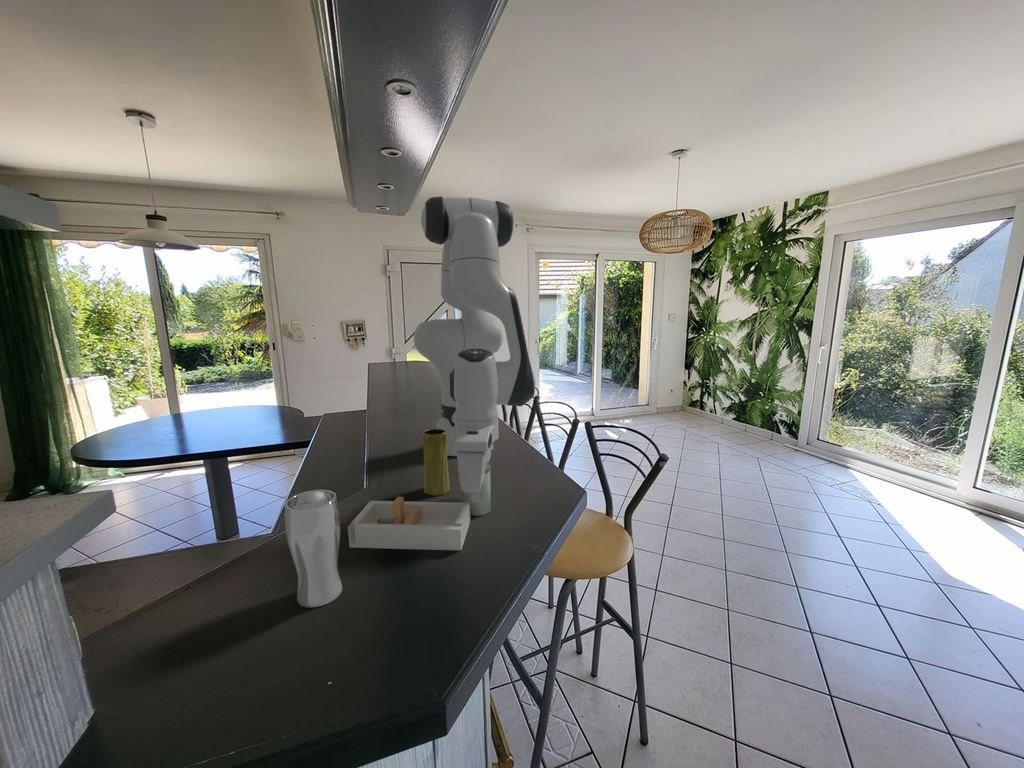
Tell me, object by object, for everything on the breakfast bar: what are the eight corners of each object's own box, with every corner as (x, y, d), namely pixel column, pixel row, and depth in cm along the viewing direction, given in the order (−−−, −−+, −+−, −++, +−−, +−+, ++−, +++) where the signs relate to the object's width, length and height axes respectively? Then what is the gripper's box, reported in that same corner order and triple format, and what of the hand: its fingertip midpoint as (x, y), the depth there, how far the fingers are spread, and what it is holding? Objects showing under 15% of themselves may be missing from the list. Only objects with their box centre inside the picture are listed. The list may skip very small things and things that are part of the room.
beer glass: (309, 578, 64) (300, 488, 62) (353, 578, 64) (345, 489, 61) (283, 610, 57) (272, 510, 55) (332, 611, 57) (323, 511, 55)
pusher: (385, 517, 80) (383, 491, 80) (419, 518, 80) (418, 491, 79) (371, 536, 74) (369, 508, 73) (408, 537, 73) (407, 509, 72)
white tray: (371, 519, 82) (370, 498, 82) (470, 521, 81) (469, 500, 81) (349, 547, 73) (347, 524, 72) (461, 550, 71) (460, 526, 71)
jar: (467, 503, 89) (466, 460, 87) (492, 503, 89) (491, 461, 87) (463, 515, 84) (462, 470, 82) (489, 516, 83) (489, 470, 82)
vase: (444, 497, 92) (442, 436, 90) (419, 494, 93) (416, 434, 91) (453, 485, 98) (451, 428, 95) (429, 483, 99) (427, 427, 97)
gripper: (469, 416, 94) (470, 473, 96) (451, 445, 73) (453, 517, 76) (496, 416, 93) (497, 474, 96) (486, 446, 73) (487, 517, 75)
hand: (478, 493), depth 86 cm, fingers closed on jar, 5 cm apart
